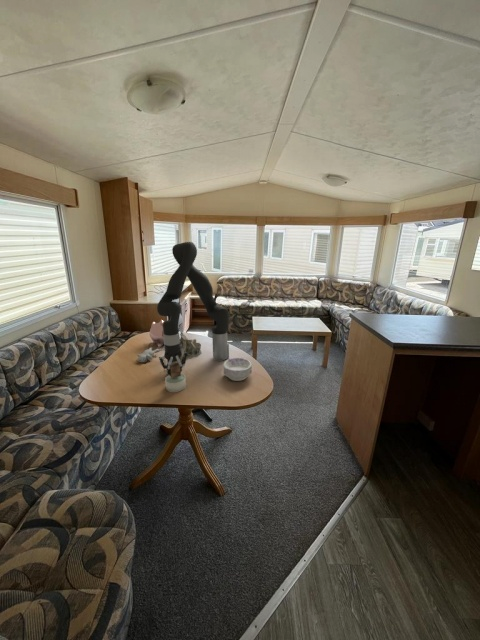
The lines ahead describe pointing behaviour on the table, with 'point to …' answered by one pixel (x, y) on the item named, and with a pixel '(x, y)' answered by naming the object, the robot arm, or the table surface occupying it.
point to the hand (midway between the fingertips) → (174, 373)
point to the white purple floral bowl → (237, 368)
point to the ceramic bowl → (175, 383)
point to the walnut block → (175, 370)
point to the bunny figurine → (146, 355)
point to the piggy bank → (157, 333)
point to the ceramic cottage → (190, 347)
